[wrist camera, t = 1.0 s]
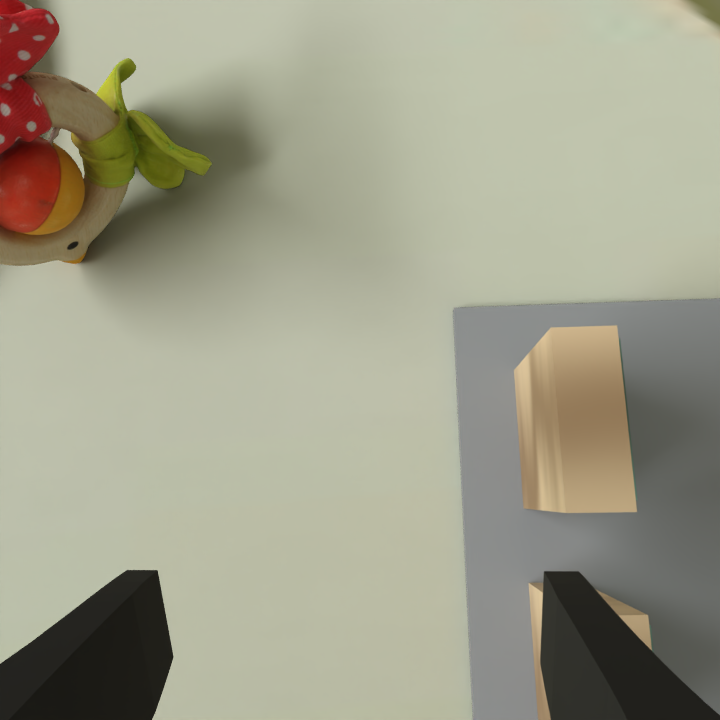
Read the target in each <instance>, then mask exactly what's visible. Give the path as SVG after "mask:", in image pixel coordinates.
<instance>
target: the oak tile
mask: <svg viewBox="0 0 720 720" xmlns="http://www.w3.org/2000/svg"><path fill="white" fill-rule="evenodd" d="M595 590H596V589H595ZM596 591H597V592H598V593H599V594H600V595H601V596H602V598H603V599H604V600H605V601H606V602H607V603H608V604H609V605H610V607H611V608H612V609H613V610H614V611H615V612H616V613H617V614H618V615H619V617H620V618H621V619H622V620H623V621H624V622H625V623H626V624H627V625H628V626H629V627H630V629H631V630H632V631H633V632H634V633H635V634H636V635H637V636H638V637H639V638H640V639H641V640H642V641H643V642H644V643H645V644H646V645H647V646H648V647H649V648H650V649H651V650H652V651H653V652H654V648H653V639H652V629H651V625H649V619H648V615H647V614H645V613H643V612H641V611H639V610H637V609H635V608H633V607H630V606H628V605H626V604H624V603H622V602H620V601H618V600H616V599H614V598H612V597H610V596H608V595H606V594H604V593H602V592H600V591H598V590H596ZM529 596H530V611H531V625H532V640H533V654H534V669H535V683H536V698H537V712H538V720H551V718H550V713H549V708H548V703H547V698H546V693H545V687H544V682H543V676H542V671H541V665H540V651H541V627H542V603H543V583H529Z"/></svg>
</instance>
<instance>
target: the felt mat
mask: <svg viewBox="0 0 720 720" xmlns="http://www.w3.org/2000/svg"><path fill="white" fill-rule="evenodd" d="M453 319H454V339H455V360H456V381H457V401H458V422H459V443H460V463H461V484H462V505H463V525H464V546H465V567H466V587H467V608H468V629H469V649H470V670H471V691H472V711H473V720H538V712H537V698H536V683H535V669H534V654H533V640H532V625H531V611H530V596H529V583H543V578H544V571H579V572H580V573H581V574H582V575H583V576H584V577H585V578H586V579H587V580H588V582H589V583H590V584H591V585H592V586H593V587H594V588H595V589H596V590H598V591H600V592H602V593H604V594H606V595H608V596H610V597H612V598H614V599H616V600H618V601H620V602H622V603H624V604H626V605H628V606H630V607H633V608H635V609H637V610H639V611H641V612H643V613H645V614H647V615H648V619H649V625H651V629H652V639H653V648H654V653H655V655H656V656H657V657H658V658H659V659H660V660H661V661H662V662H663V663H664V664H665V665H666V666H667V667H668V668H669V669H670V670H671V671H672V672H673V673H674V674H676V675H677V676H678V677H679V678H680V679H681V680H682V681H683V682H684V683H685V684H686V685H687V686H688V687H689V688H690V689H691V690H692V691H694V692H695V693H696V694H697V695H698V696H699V697H700V698H701V699H702V700H703V701H704V702H705V703H706V704H708V705H709V706H710V707H711V708H712V709H713V710H714V711H716V712H717V713H718V714H719V715H720V298H719V299H690V300H661V301H633V302H604V303H575V304H546V305H517V306H488V307H460V308H454V309H453ZM615 325H617V329H618V338H619V339H620V341H621V351H622V360H623V369H624V378H625V388H626V397H627V406H628V416H629V425H630V434H631V444H632V453H633V462H634V471H635V481H636V490H637V499H638V500H636V506H637V512H608V513H561V512H552V511H543V510H533V509H524V508H523V494H522V480H521V465H520V451H519V436H518V422H517V407H516V393H515V378H514V370H515V368H516V367H517V366H518V365H519V364H520V363H521V361H522V360H523V359H524V358H525V357H526V356H527V354H528V353H529V352H530V351H531V350H532V349H533V347H534V346H535V345H536V344H537V343H538V342H539V341H540V339H541V338H542V337H543V336H544V335H545V334H546V332H547V331H548V330H549V329H550V328H553V327H584V326H615Z"/></svg>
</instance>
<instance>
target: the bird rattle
mask: <svg viewBox="0 0 720 720" xmlns="http://www.w3.org/2000/svg"><path fill="white" fill-rule="evenodd" d="M58 33H59V25H58V23H57V21H56V19H55V17H54V16H53V15H52V13H50V12H49V11H47V10H45V9H34V8H33V7H31V6H29V5H27V4H25V3H22V2H21V1H19V0H0V264H4V265H15V266H23V265H35V264H41V263H46V262H50V261H54V260H60V261H63V262H67V263H73V264H77V263H80V262H81V261H82V260H83V258H84V257H85V254H86V251H87V249H88V246H89V244H90V243H91V242H92V240H94V239H95V238H96V237H97V236H98V235H99V234H100V233H101V232H102V231H103V229H104V228H105V227H106V226H107V225H108V224H109V222H110V221H111V220H112V218H113V217H114V215H115V213H116V212H117V210H118V209H119V207H120V205H121V203H122V201H123V198H124V196H125V194H126V191H127V188H128V184H129V181H130V180H131V179H132V178H133V176H134V174H135V171H134V167H135V166H136V167H137V168H138V169H139V171H140V173H141V174H142V175H143V176H144V177H145V178H146V179H147V180H148V181H149V182H150V183H151V184H152V185H154V186H155V187H158V188H162V189H168V188H174V187H177V186H179V185H180V184H181V182H182V181H183V178H184V173H185V169H186V170H190V171H192V172H194V173H196V174H198V175H205V173H206V172H207V171H208V169H209V168H210V166H211V164H212V163H211V162H210V160H209V159H208V158H207V157H205V156H204V155H201V154H199V153H196V152H193V151H191V150H188V149H186V148H183V147H180V146H177V145H176V144H174V143H173V142H172V141H171V140H170V139H169V138H168V137H167V135H166V134H165V133H164V132H163V131H162V130H161V128H160V127H159V126H158V125H157V124H156V123H155V122H154V121H153V120H152V119H151V118H150V117H149V116H148V115H146V114H144V113H142V112H139V111H135V110H131V111H127V109H126V107H125V104H124V100H123V96H122V90H121V83H122V82H123V81H125V80H126V79H127V78H129V77H130V76H131V75H132V74H133V73H134V71H135V70H136V65H135V64H134V62H133V61H132V60H131V59H129V58H127V59H124V60H123V61H121V62H119V63H118V64H117V65H116V66H115V68H114V69H113V71H112V72H111V74H110V75H109V77H108V78H107V79H106V81H105V82H104V83H103V85H102V86H101V87H100V89H99V91H98V92H97V94H95V93H94V92H92V91H91V90H89V89H88V88H86V87H84V86H82V85H80V84H78V83H76V82H74V81H71V80H69V79H66V78H63V77H60V76H57V75H53V74H49V73H40V72H28V71H29V70H30V69H31V68H32V67H33V66H34V65H35V64H36V63H37V62H38V61H39V60H40V59H41V58H42V57H43V56H44V54H45V53H46V52H47V50H48V49H49V48H50V46H51V45H52V43H53V42H54V40H55V39H56V37H57V35H58ZM51 127H54V129H53V130H52V133H51V136H50V139H49V140H45V139H43V138H42V137H39V136H40V135H41V134H44V133H46V132H48V131H49V130H50V128H51ZM61 128H62V129H66V130H68V131H70V132H71V140H72V142H73V143H74V145H75V146H76V147H77V148H78V149H79V154H80V156H81V157H82V159H83V165H84V171H85V175H84V178H83V177H82V173H81V171H80V169H79V168H78V166H77V164H76V163H75V161H74V160H73V159H72V157H71V156H70V155H69V154H68V153H67V152H66V151H65V150H63V149H62V148H61V147H59V146H57V145H56V144H55V143H53V140H54V139H55V138H56V137H57V136H58V134H59V131H60V129H61Z"/></svg>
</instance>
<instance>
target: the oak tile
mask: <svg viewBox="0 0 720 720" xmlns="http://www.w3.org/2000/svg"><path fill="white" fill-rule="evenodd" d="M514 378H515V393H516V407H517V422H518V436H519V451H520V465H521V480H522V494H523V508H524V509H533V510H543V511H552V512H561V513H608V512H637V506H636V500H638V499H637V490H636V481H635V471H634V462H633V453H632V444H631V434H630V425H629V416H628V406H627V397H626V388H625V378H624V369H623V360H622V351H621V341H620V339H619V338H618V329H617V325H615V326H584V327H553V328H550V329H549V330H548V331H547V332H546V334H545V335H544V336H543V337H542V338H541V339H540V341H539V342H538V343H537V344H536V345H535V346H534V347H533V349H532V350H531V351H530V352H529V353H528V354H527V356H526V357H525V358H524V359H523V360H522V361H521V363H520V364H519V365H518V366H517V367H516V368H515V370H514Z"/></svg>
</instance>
